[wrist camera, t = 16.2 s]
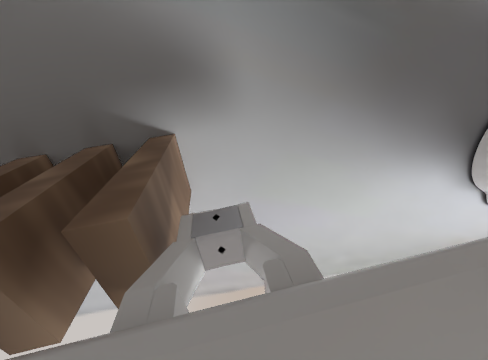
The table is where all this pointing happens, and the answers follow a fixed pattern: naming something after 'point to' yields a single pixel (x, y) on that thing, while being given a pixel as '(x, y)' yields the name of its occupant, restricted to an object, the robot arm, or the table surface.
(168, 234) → the domino
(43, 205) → the domino
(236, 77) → the table surface
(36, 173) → the domino
